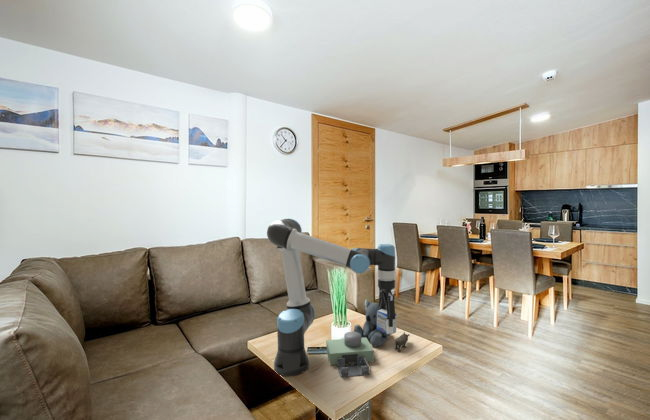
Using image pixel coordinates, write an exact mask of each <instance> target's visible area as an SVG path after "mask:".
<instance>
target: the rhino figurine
mask: <svg viewBox="0 0 650 420" xmlns="http://www.w3.org/2000/svg"><path fill="white" fill-rule="evenodd" d="M409 336H410V334H409V333H408V334H407V333H406V332H403V334H401V335H400V336H397V337H396V338H395V340H394V344H395V348H394V349H395V351H397V352H398V353H401V347H403V348H404V349H405V348H407V346H406V344H407V343H408V340H409Z"/></svg>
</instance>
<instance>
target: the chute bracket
mask: <svg viewBox="0 0 650 420" xmlns="http://www.w3.org/2000/svg"><path fill="white" fill-rule="evenodd" d="M336 367H337V370H338V374H339V377H340V378H349V377H360V376H369V375H370V365H369V363H368V362H367V361H366V359H365V357H364V356H359V357H357V363H347V364H345V358H338V364H336Z"/></svg>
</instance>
